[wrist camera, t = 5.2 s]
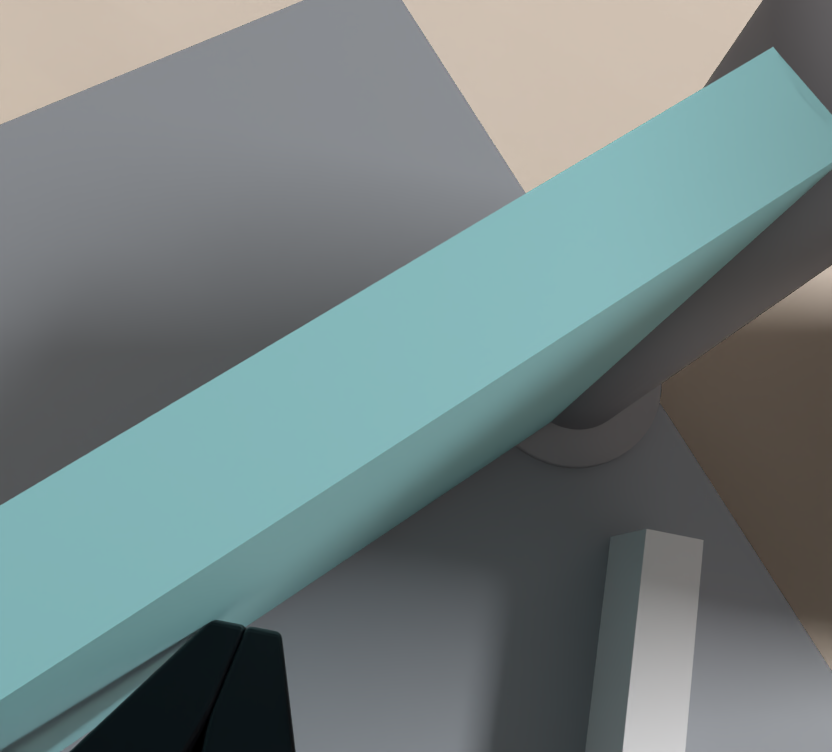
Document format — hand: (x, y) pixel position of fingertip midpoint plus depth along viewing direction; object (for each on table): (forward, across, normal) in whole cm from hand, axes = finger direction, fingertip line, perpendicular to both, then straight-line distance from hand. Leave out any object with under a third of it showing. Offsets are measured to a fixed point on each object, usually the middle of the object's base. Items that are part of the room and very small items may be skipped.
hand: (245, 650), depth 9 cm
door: (+5, 0, +2) cm, 6 cm away
